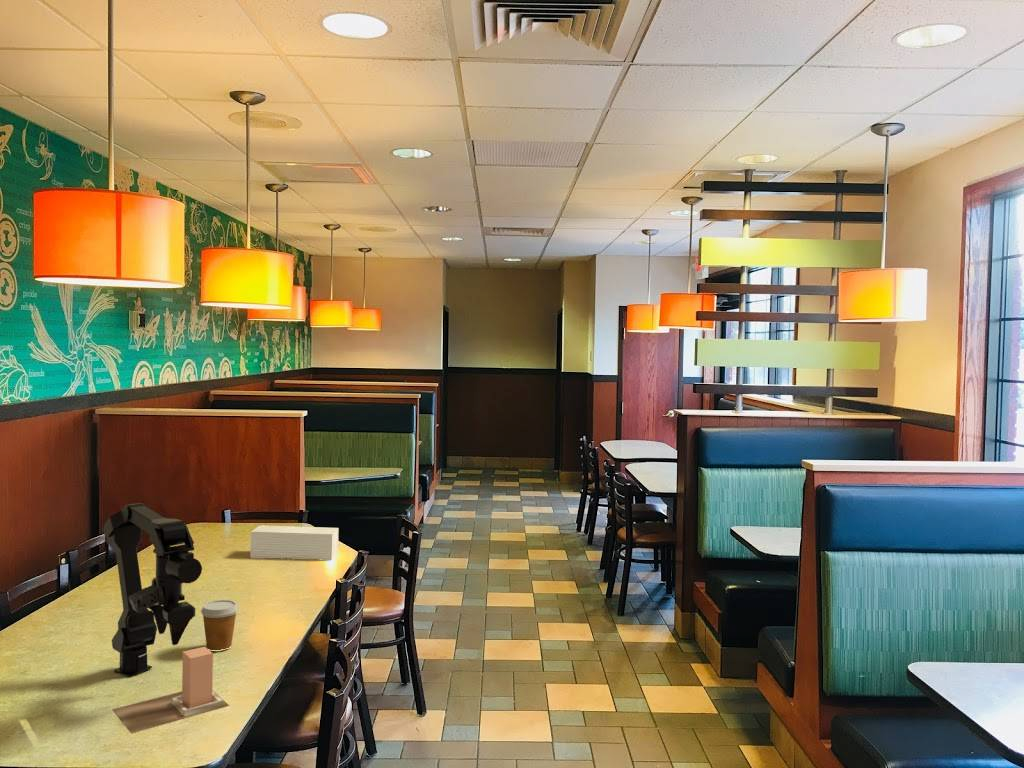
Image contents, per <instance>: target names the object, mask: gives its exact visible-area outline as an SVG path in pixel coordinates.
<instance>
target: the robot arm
mask: <svg viewBox="0 0 1024 768" xmlns="http://www.w3.org/2000/svg"><path fill="white" fill-rule="evenodd" d="M142 531H144V532H145V533H147V534H148V535H149V542H151V544H152V545H153V547H154V549H153V550H152V553H153V554H155V577H152V579H151V584H150V585H149V586H147V587H144V588H143V587H142V586H143V585H142V580H141V573H140V564H139V563H140V562H139V559H138V546H139V544H140V542H141V541H142V538H143V533H142ZM103 534H104V536H105V538H106V542H107V543H106V544H107V546H109V548H111V549H112V551H114V553H115V556H116V563H117V564H116V565H117V571H118V580H119V586H120V593H121V594H120V595H121V602H122V609H123V610H122V612H121V615H120V616H119V618H118V621H117V628H118V629H117V631H116V632H115V634H114V636H113V637H112V639H111V645H112V649H113V650H115V651H117V653H119V667H118V668H115V669H113V672H115V673H116V672H117V674H119V673H120V675H122V674H123V676H125V675H126V676H125V677H128V676H129V678H131V677H134V676H136V674H137V675H138V673H139V674H141V672H142V673H144V672H146V671H145V670H147V671H149V670H151V669H150V668H152V669H153V666H152V665H150V664H148V647H147V646H151V645H152V646H153V645H155V640H156V635H157V632H158V634H159V635H161V634H162V635H163V634H165V631H166V630H167V626H168V627H169V633H170V639H171V640H170V641H171V645H172V646H176V645H178V644H179V642H180V640H181V638H182V636H183V634H184V632H185V630H186V629H187V627H188V625H189V623H190V622H191V620H193V618H194V617H196V607H195V606H193V605H192V604H190V603H189V602H187V601H186V600H185V594H183V593H182V592H183V584H193V583H194V582H195V581H197V580H198V579H199V578H200V576H201V574H202V570H203V566H202V563H201V562H200V560H198V559H197V558H194V557H195V555H194V552H193V551H194V550H195V547H194V544H195V542H194V540H193V537H192V535H191V533H190V530H189V527H188V526H187V525H186V523H185V521H183V520H182V519H177V518H167V517H164V516H162V515H160V514H159V513H157V512H156V511H154V510H152V509H151V508H149V507H148V506H147V504H146V503H142V502H139V503H138V502H137V503H130V504H126V505H124V506H123V507H122V508H121V509H120V510H119V511H117V512H116V513H114V514H112V515H110V516H109V517H108V519H107V520H106V522H105V523H104V524H103ZM148 669H149V670H148ZM143 671H144V672H143ZM133 675H134V676H133ZM130 676H131V677H130Z"/></svg>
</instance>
